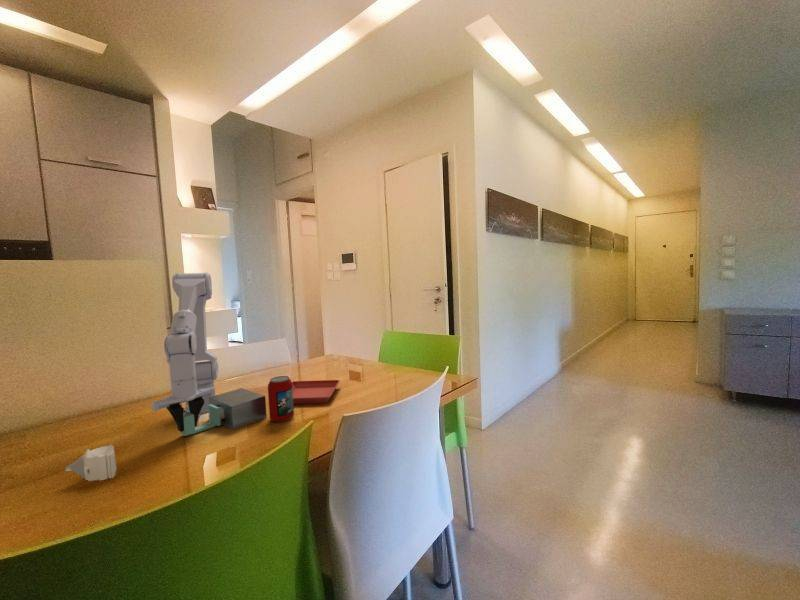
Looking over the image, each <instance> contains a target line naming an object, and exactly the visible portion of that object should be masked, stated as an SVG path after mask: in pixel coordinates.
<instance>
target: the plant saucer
mask: <svg viewBox="0 0 800 600" xmlns="http://www.w3.org/2000/svg"><path fill="white" fill-rule="evenodd" d="M291 382H292V389H293V405H308V404H309V405H311V404H312V405H313V404H314V405H315V404H326V403H328V402H329V400H330V398H331V396H332V395H333V393H334V392H335V390H336V389H337V387H338V385H339V383H340V379H329V380H328V379H325V380H321V379H320V380H294V381H291Z"/></svg>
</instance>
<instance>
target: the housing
mask: <svg viewBox="0 0 800 600" xmlns="http://www.w3.org/2000/svg"><path fill="white" fill-rule="evenodd" d="M210 404H212V405H214V406H217V407H220V406H222V407H224V419H221V420H220V424H221V425H223V426H225V427H227V428H229V429H231V430H236V429H239V428H241V427H244V426H247V425H250V424H252V423H254V422H258V421H260V420H263V419H265V418H267V402H266V395H264V394H261V393H258V392H255V391H251V390H248V389H245V388H237V389H234V390H229V391H226V392H224V393H219V394H215V396H212V397H209V405H210ZM257 420H258V421H257Z"/></svg>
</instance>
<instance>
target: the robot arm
mask: <svg viewBox="0 0 800 600" xmlns="http://www.w3.org/2000/svg"><path fill="white" fill-rule="evenodd" d="M171 278H172V279H171V281H172V283H171V284H172V285H171V286H172V289H173V291H174V293H175V294H176V296H177V297H178V311H176V312H175V313H174V314H173V315H172V320H171V325H170V330H169V335H168V336H166V337H165V338H164V343H163V346H164V347H163V348H164V354H165V356H166V362H167V364H168V365H169V376H170V387H171V388H170V389H171V396H167V397H164V398H161V399H160V400H155V401H153V402H151V403H150V404H151V411H153V412H158V411H160V410H162V409H166V410H167V411H168V412H169V413H170V415H171V417H172V419H174V420H173V421H174V422H175V425H176V428H177V431H178V432H183V431H184V423H183V414H184V411H185V413H187V412H190V413H192V414H194V422H195V428H196V427H198V421H199V417H200V415H202V414H205V413H209V407H208V405H209V397H212V396H215V395H216V388H215V382H214V381H216V380H217V379H218V377H219V363H218V357H217V356H216V354H214V353H211V352H210V351H208V349H207V348H208V346H207V325H206V323H207V321H206V304H207V301H208V300H210V299H212V296H213V287H212V286H213V285H212V283H213V282H212V277H211V274H210V273H209V272H206V271H205V272H195V273H194V272H192V273H191V272H190V273H186V272H185V273H177V272H176V273H174V274H173V276H172V277H171ZM184 403H185V407H182V404H184Z"/></svg>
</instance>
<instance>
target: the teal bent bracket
mask: <svg viewBox="0 0 800 600" xmlns="http://www.w3.org/2000/svg"><path fill="white" fill-rule="evenodd" d="M208 407H209V412H208V416H209V417H208V419H209V422H208V423H206V424H202V425H199V426H197V427H195V422H194V414H192V413H190V412H183V423H184V431H183V432H180V431H179V432H180V434H181V435H182V436H190V435H194V434H197V433H200V432H203V431H206V430H208V429H211V428H214V427H216V426H217V427H219V426H221V425H222V424H221V423H220V420H221V419H224V407H222V406H220V407H217V406H214V405H212V404H210V405H208Z"/></svg>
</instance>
